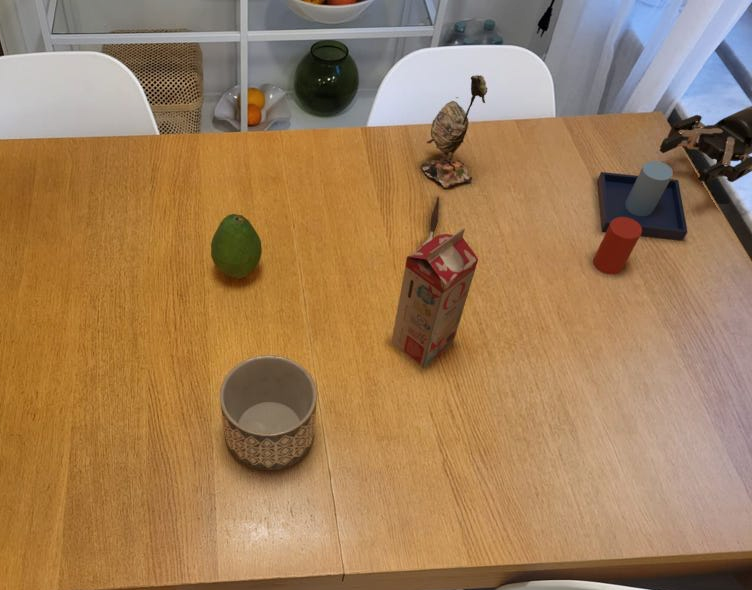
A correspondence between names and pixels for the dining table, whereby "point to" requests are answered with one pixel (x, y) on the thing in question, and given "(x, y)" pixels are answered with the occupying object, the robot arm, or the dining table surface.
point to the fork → (433, 221)
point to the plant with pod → (452, 138)
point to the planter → (268, 411)
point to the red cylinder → (617, 245)
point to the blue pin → (648, 188)
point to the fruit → (236, 247)
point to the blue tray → (659, 224)
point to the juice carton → (433, 297)
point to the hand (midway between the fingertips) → (682, 161)
